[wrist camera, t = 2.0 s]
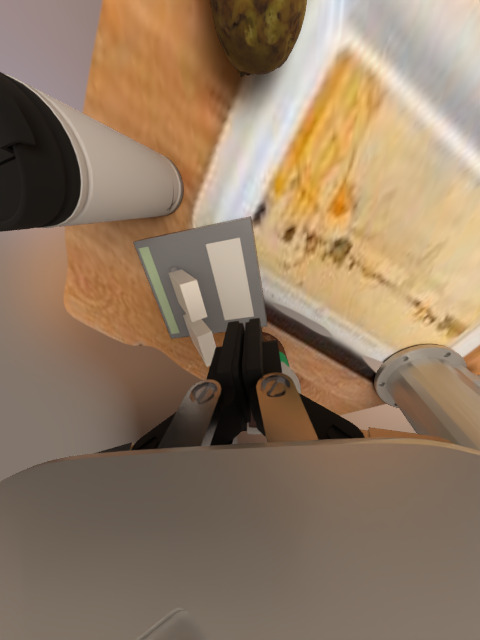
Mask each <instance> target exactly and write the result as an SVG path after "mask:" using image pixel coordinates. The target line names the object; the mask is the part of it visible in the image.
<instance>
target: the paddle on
mask: <svg viewBox="0 0 480 640" xmlns="http://www.w3.org/2000/svg"><path fill="white" fill-rule="evenodd" d="M169 269H170V273H169V276H170V279H171V282H172V285H173V288H174V291H175V294H176V297H177V299H178V302H179V304H180V306H181V307H182V308H183V310H184V311H185V313H186V314H187V316H188V317H189V319H190V320H191V322H195V321H197V320H200V319H203V318H205V317H207V313H206V310H205V306H204V303H203V299H202V296H201V293H200V289H199V286H198V282H197V280H196V279H195V278H193V277H192V276H191V275H189V274H188V273H186V272H185V271H184V270H182V269H181V270H178V269H177V266H175V267H171V268H169Z"/></svg>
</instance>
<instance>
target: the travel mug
mask: <svg viewBox="0 0 480 640" xmlns="http://www.w3.org/2000/svg"><path fill="white" fill-rule="evenodd" d="M183 191H184V189H183V181H182V177H181V175H180V172H179V171H178V169H177V167H176V166H175V165H174V163H173V162H172V161H171V160H169V159H168V158H167V157H165V156H163V155H161V154H160V153H158V152H156V151H154V150H152V149H150V148H148V147H146V146H144V145H142V144H140V143H138V142H137V141H135V140H133V139H131V138H129V137H127V136H125V135H123V134H121V133H119V132H117V131H115V130H114V129H112V128H110V127H108V126H106V125H104V124H102V123H100V122H98V121H96V120H94V119H92V118H91V117H89V116H87V115H85V114H83V113H81V112H79V111H77V110H75V109H73V108H71V107H70V106H68V105H65V104H64V103H62V102H60V101H58V100H56V99H54V98H52V97H50V96H48V95H47V94H45V93H43V92H41V91H39V90H37V89H35V88H33V87H31V86H29V85H27V84H25V83H23V82H22V81H20V80H18V79H16V78H14V77H12V76H10V75H7V74H3V73H1V72H0V231H10V230H20V229H30V228H40V227H43V228H52V227H58V226H59V227H61V226H71V225H80V224H90V223H100V222H109V221H119V220H128V219H138V218H148V217H157V216H165V215H169V214H171V213H173V212H174V211H175V210H176V209H177V208H178V207H179V205H180V203H181V201H182V198H183Z"/></svg>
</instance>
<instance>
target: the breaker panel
mask: <svg viewBox="0 0 480 640" xmlns="http://www.w3.org/2000/svg"><path fill="white" fill-rule="evenodd" d="M133 243H134V245H135V248H136V250H137V253H138V255H139V258H140V260H141V263H142V265H143V268H144V271H145V273H146V276H147V278H148V281H149V283H150V286H151V288H152V291H153V293H154V296H155V299H156V301H157V304H158V306H159V309H160V311H161V314H162V316H163V319H164V321H165V324H166V327H167V329H168V332H169V334H170V337H171V339H172V338H180V337H188V336H190V334H189V331H188V328H187V325H186V323H185V320H184V317H183V315H185V313H184V310H183V308H182V307H181V306H180V304H179V302H178V299H177V297H176V294H175V291H174V288H173V285H172V282H171V279H170V276H169V273H170V269H169V268H171V267H175V266H177V269H178V270H181V269H182V270H184V271H185V272H186V273H188V274H189V275H191V276H192V277H193V278H195V279H196V280H197V282H198V286H199V289H200V293H201V296H202V299H203V303H204V306H205V310H206V313H207V317H205V318H203V319H202V320H203V321H204V323H205V324H206V325H207V326H208V327H209V329H210V330H211V331H212V333H219V332H226V329H227V325H228V322H233V321H239V323H243V325H244V329H245V324H246V322H249V319H254V318H260V322H261V327H265V326H267V316H266V310H265V303H264V297H263V290H262V284H261V277H260V271H259V264H258V258H257V251H256V245H255V239H254V232H253V226H252V219H251V216H250V217H246V218H241V219H236V220H231V221H227V222H222V223H217V224H212V225H208V226H203V227H198V228H193V229H189V230H184V231H179V232H174V233H170V234H165V235H160V236H156V237H151V238H146V239H142V240H139V241H135V242H133Z"/></svg>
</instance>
